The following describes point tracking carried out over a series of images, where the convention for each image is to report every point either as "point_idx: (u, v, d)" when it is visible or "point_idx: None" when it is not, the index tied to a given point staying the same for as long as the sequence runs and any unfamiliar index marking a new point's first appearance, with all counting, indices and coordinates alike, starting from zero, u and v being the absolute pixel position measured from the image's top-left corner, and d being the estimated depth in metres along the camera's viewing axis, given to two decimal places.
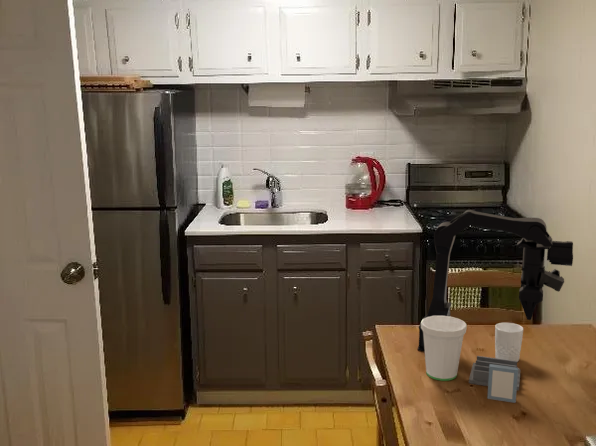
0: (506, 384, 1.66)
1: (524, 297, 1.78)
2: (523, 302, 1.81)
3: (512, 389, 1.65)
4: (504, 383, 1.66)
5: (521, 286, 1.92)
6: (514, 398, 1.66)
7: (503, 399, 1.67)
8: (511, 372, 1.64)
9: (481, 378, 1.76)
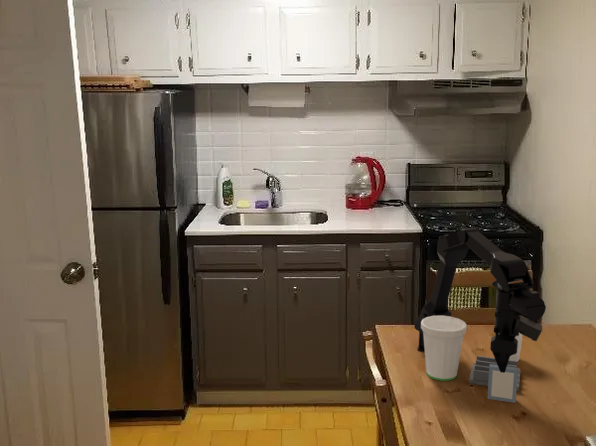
0: (506, 384, 1.66)
1: (496, 349, 1.56)
2: (495, 353, 1.59)
3: (512, 389, 1.65)
4: (504, 383, 1.66)
5: (495, 332, 1.70)
6: (514, 398, 1.66)
7: (503, 399, 1.67)
8: (511, 372, 1.64)
9: (481, 378, 1.76)
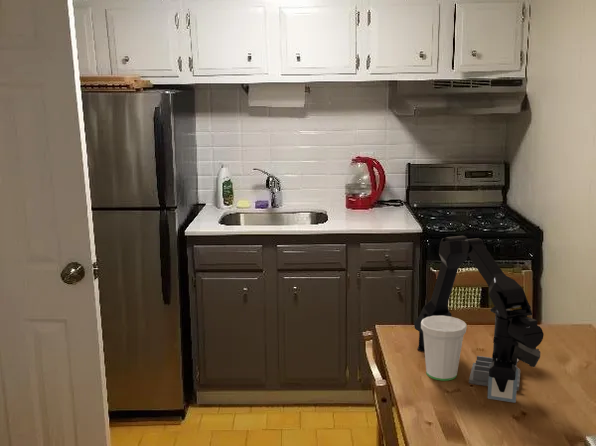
0: None
1: (494, 375, 1.57)
2: None
3: (512, 389, 1.65)
4: None
5: (493, 362, 1.68)
6: (514, 398, 1.66)
7: (503, 399, 1.67)
8: None
9: (481, 378, 1.76)
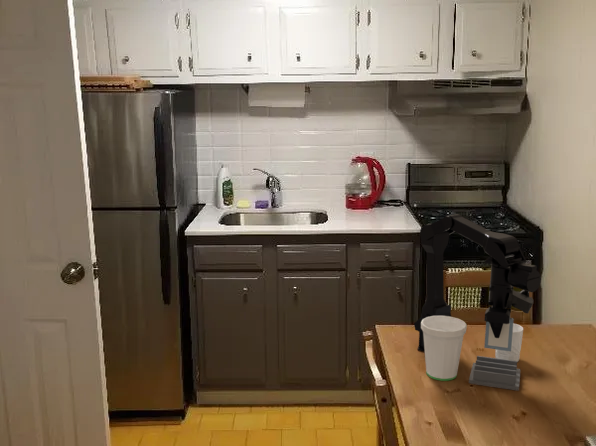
0: (502, 333, 1.76)
1: (490, 320, 1.67)
2: None
3: (507, 338, 1.75)
4: (500, 333, 1.76)
5: None
6: (509, 347, 1.76)
7: (499, 348, 1.77)
8: None
9: (481, 378, 1.76)
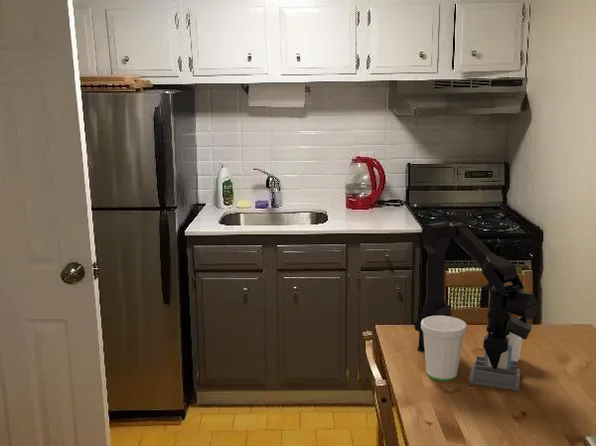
0: (501, 360, 1.77)
1: (488, 346, 1.69)
2: (488, 351, 1.72)
3: (506, 365, 1.77)
4: None
5: (488, 331, 1.83)
6: None
7: None
8: None
9: (481, 378, 1.76)
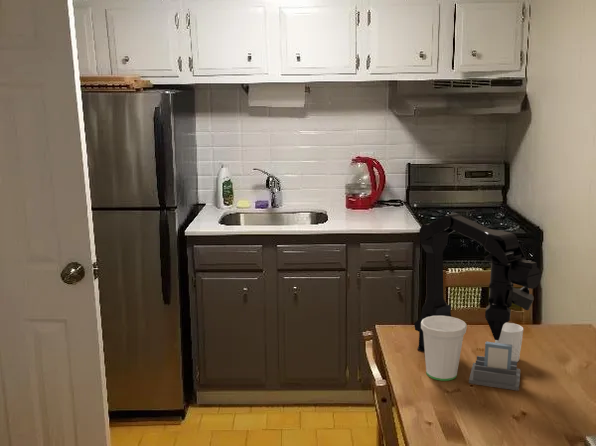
0: (501, 360, 1.77)
1: (490, 317, 1.68)
2: (490, 321, 1.71)
3: (506, 365, 1.77)
4: (499, 359, 1.78)
5: (490, 303, 1.81)
6: None
7: None
8: (505, 348, 1.76)
9: (481, 378, 1.76)
